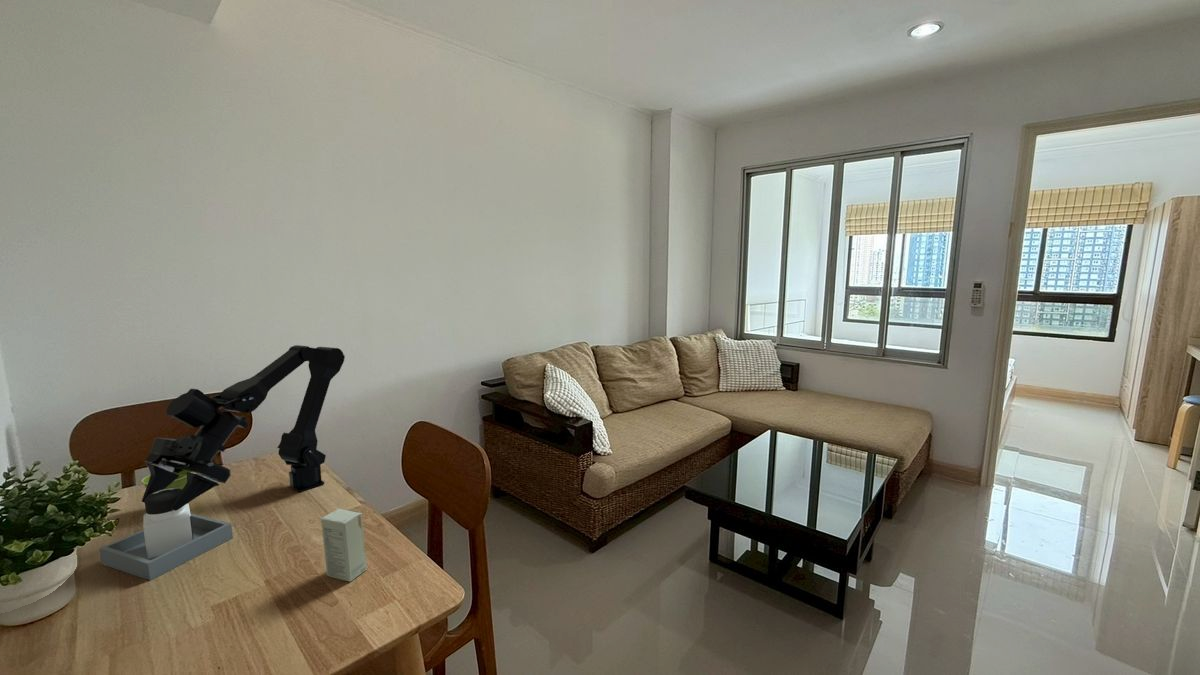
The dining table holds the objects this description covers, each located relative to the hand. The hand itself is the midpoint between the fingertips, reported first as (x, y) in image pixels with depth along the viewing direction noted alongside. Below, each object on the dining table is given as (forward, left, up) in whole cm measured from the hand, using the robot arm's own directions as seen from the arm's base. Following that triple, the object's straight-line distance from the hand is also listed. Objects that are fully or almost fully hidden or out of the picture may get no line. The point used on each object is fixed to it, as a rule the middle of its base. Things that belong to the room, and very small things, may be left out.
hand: (158, 506), depth 96 cm
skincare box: (-21, +36, -11) cm, 43 cm away
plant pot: (-5, -23, -11) cm, 26 cm away
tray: (-1, 0, -11) cm, 11 cm away
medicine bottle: (-1, 0, -10) cm, 10 cm away
